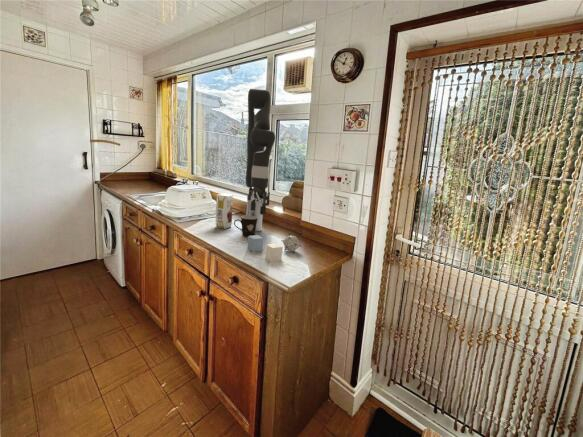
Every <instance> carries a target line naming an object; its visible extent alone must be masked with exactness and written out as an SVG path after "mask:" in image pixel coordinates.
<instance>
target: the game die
mask: <svg viewBox="0 0 583 437" xmlns="http://www.w3.org/2000/svg"><path fill="white" fill-rule="evenodd" d="M280 242H282V243H283V246H284V251H285V252H286V251H289V252H292V253H293V254H295V251H296V250H298V248H299V247H302V245H300V242H299V235H297V236H295V235H291V234H290V233H288V236H287V237H285V238H284V239H283V240H281V241H280Z"/></svg>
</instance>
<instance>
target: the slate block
mask: <svg viewBox="0 0 583 437" xmlns="http://www.w3.org/2000/svg"><path fill="white" fill-rule="evenodd" d="M263 246H264V237H262V236H261V235H258V234H255V235H253V236H248V237H247V249H248V250H250V251H251V252H259V251H263V249H264V248H263Z"/></svg>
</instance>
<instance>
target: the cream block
mask: <svg viewBox="0 0 583 437" xmlns="http://www.w3.org/2000/svg"><path fill="white" fill-rule="evenodd" d="M282 258H283V246H282V245H280V244H278V243H270V244H269V243H268V244H266V245H265V259H266V260H268V261H270V262H272V263H273V262H277V261H282Z"/></svg>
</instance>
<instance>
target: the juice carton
mask: <svg viewBox="0 0 583 437" xmlns="http://www.w3.org/2000/svg"><path fill="white" fill-rule="evenodd" d="M233 196H234V195H233V194H232V193H224V192H223V193H218V194H216V206H215V228H217V229H224V230H227V229H228V228H231V227H232V222H233V202H234V197H233Z"/></svg>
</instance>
